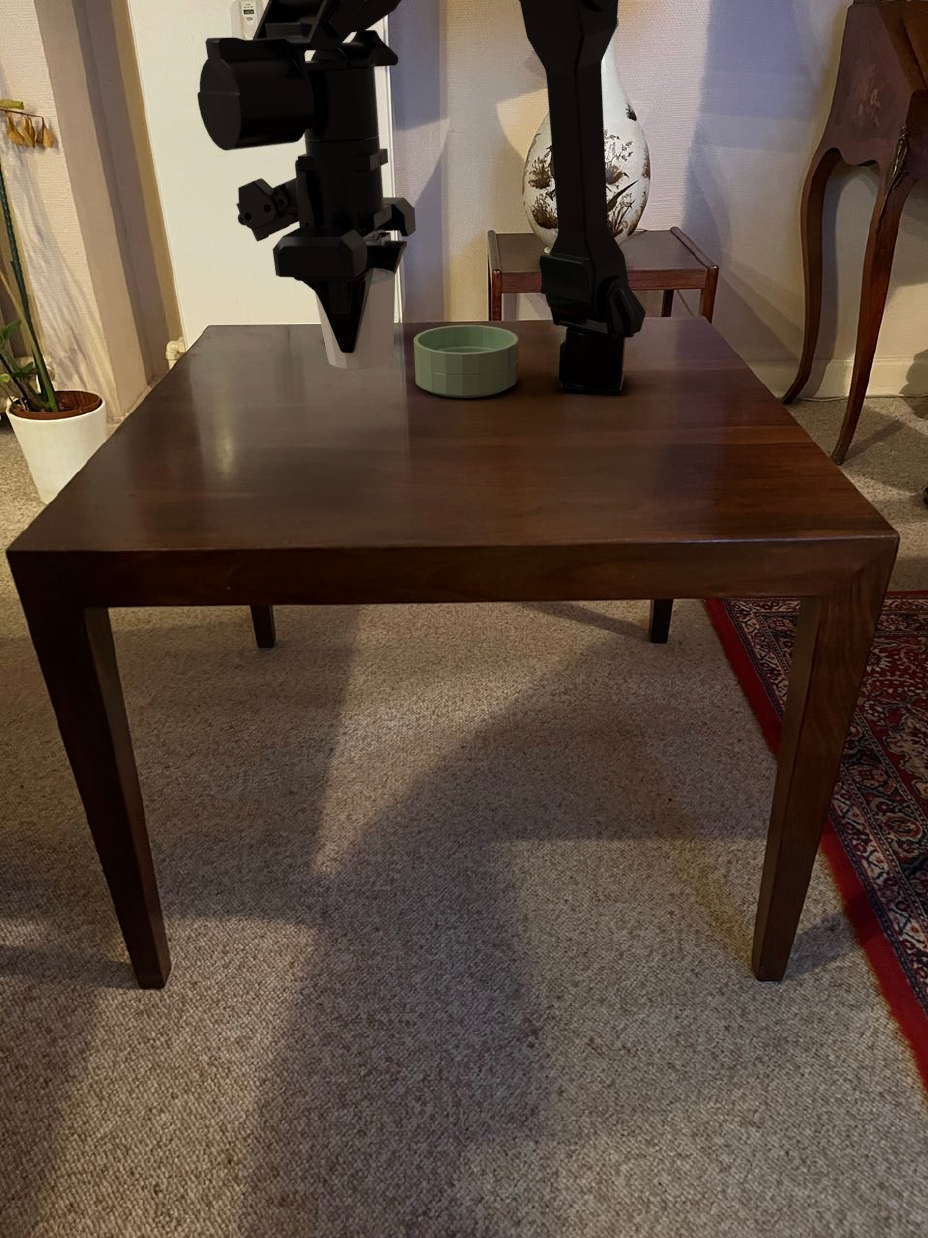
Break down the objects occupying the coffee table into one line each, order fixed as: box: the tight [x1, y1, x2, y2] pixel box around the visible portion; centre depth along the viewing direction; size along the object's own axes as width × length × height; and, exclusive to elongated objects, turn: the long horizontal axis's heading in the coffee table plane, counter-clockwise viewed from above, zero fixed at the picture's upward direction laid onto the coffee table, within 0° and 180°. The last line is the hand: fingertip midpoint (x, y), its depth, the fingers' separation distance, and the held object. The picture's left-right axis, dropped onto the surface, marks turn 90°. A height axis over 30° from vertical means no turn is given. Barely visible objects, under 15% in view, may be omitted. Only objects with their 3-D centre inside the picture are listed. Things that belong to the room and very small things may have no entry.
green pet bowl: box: [413, 324, 520, 399], centre depth 103 cm, size 11×11×5 cm
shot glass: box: [314, 268, 396, 370], centre depth 79 cm, size 7×7×7 cm
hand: (359, 341), depth 80 cm, fingers closed on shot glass, 6 cm apart
